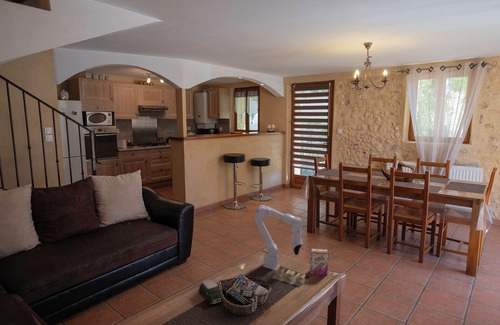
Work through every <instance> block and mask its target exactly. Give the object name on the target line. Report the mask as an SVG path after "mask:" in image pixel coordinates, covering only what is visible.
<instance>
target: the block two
mask: <svg viewBox="0 0 500 325" xmlns="http://www.w3.org/2000/svg"><path fill="white" fill-rule="evenodd" d="M295 276H296V283H299V284H302V285H303V283H304V282H305V279H306V274H305V273H302V272H298V273H297V274H295Z"/></svg>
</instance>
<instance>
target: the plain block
mask: <svg viewBox="0 0 500 325" xmlns="http://www.w3.org/2000/svg"><path fill="white" fill-rule="evenodd" d="M285 273H286V278H285V279H286V280H289V281H293V280H294V279H295V276H296V271H294V270H291V269H288V270H287V271H285Z"/></svg>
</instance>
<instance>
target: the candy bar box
mask: <svg viewBox="0 0 500 325" xmlns="http://www.w3.org/2000/svg"><path fill="white" fill-rule="evenodd" d="M329 254H330V253H329V249H321V248H311V249H310V261H309V274H310V275H319V276H321V275H322V276H328V270H329V269H328V266H329Z"/></svg>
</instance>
